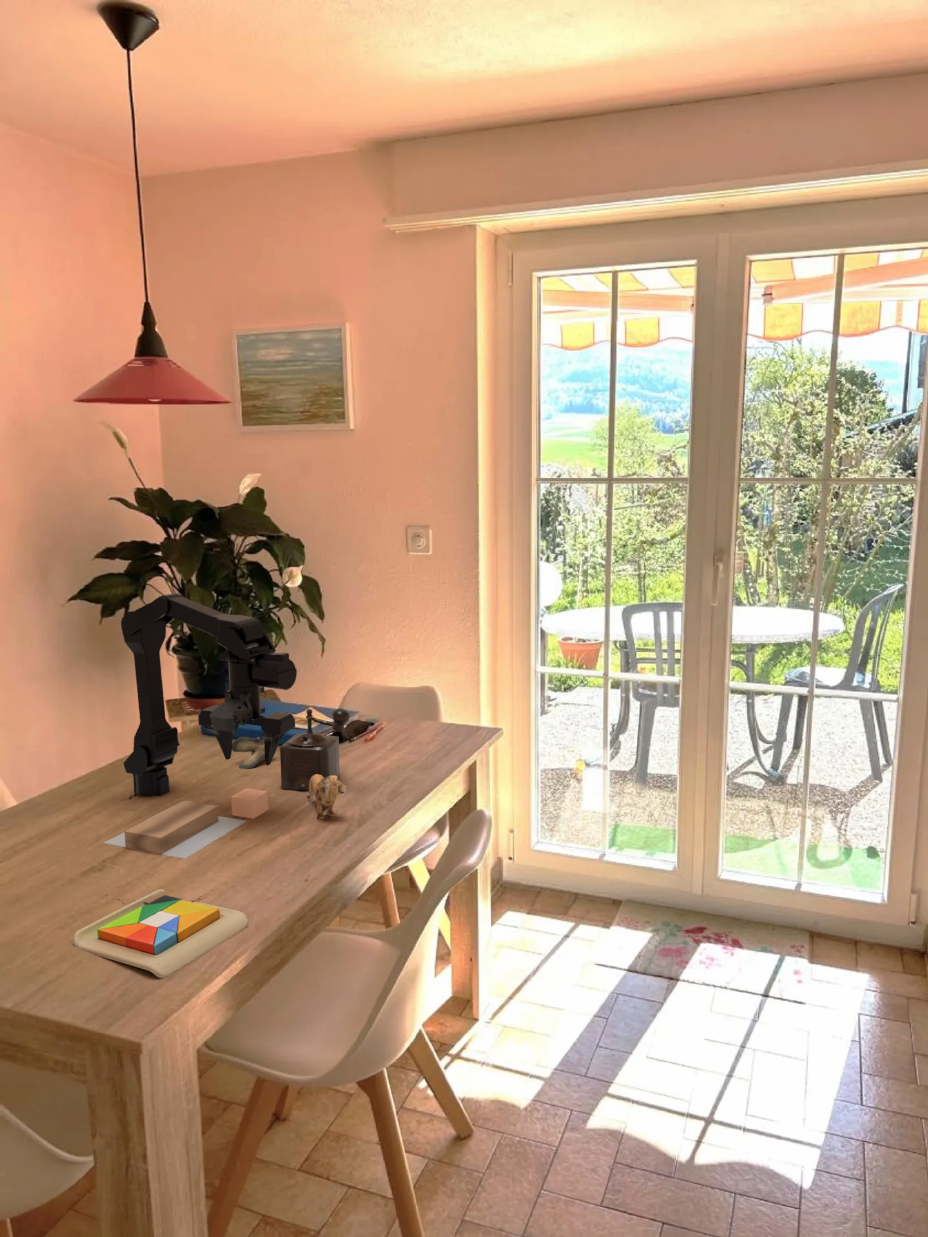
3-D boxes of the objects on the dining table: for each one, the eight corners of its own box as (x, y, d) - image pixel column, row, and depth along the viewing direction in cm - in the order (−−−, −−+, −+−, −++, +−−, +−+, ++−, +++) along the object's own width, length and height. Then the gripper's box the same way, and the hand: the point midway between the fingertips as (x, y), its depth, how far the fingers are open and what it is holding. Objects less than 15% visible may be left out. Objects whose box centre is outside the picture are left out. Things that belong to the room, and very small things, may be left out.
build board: (104, 849, 161) (103, 842, 161) (170, 813, 177) (170, 807, 177) (185, 865, 154) (185, 858, 154) (247, 826, 171) (246, 820, 171)
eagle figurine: (250, 749, 214) (223, 753, 206) (264, 727, 212) (238, 729, 204) (269, 771, 211) (243, 775, 203) (284, 748, 209) (258, 752, 201)
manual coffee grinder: (278, 790, 190) (275, 708, 187) (296, 773, 201) (293, 695, 198) (348, 794, 188) (346, 711, 185) (363, 777, 198) (361, 698, 196)
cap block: (232, 821, 174) (231, 796, 173) (247, 812, 179) (246, 788, 178) (253, 825, 172) (252, 800, 171) (268, 815, 177) (267, 791, 176)
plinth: (125, 847, 159) (124, 831, 158) (184, 815, 174) (183, 800, 173) (161, 854, 156) (160, 838, 156) (218, 820, 171) (217, 806, 170)
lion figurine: (350, 820, 174) (349, 776, 173) (325, 826, 171) (324, 781, 170) (318, 797, 186) (317, 756, 185) (294, 802, 183) (293, 760, 182)
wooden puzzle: (165, 897, 144) (164, 877, 143) (252, 927, 134) (251, 905, 134) (69, 947, 129) (68, 925, 129) (160, 985, 120) (158, 961, 119)
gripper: (177, 689, 167) (181, 769, 169) (262, 698, 160) (265, 781, 163) (214, 676, 177) (217, 751, 180) (295, 684, 170) (297, 763, 173)
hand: (248, 762), depth 173 cm, fingers open, 9 cm apart
